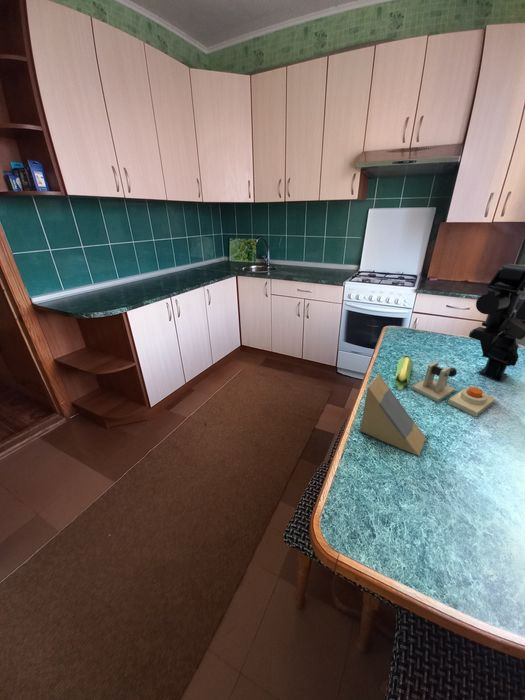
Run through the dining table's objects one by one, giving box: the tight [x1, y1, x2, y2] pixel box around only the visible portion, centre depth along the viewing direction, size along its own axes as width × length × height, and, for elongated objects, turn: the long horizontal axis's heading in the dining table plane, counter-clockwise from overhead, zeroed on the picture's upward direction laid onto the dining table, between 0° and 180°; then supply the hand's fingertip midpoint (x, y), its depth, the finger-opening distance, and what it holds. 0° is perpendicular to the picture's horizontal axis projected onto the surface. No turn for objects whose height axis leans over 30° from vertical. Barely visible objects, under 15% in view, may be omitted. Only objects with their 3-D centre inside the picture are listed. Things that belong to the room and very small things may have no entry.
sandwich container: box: [359, 373, 426, 457], centre depth 76 cm, size 9×15×15 cm, turn 52°
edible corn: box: [394, 355, 414, 391], centre depth 104 cm, size 5×20×5 cm, turn 151°
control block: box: [447, 386, 497, 418], centre depth 90 cm, size 12×8×4 cm, turn 123°
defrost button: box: [467, 386, 484, 398], centre depth 89 cm, size 4×4×2 cm
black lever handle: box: [432, 366, 458, 378], centre depth 97 cm, size 14×3×3 cm, turn 124°
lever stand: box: [411, 361, 456, 403], centre depth 95 cm, size 10×9×9 cm
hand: (485, 353), depth 95 cm, fingers closed
